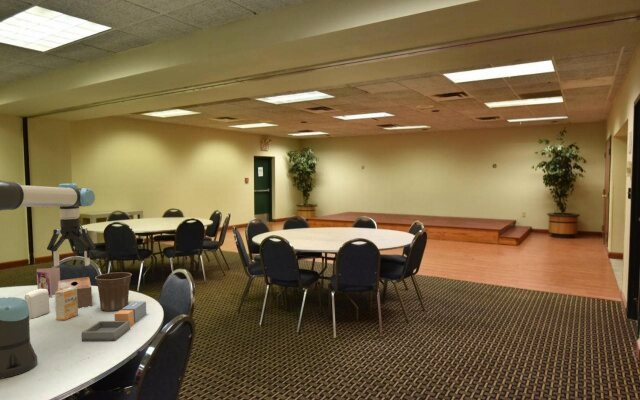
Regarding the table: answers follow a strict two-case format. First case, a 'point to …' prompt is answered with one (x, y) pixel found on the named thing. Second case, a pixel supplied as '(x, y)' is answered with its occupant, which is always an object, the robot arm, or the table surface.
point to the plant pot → (113, 290)
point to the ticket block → (137, 309)
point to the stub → (125, 316)
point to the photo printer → (37, 302)
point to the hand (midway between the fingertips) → (72, 265)
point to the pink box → (48, 279)
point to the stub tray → (106, 331)
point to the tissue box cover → (79, 290)
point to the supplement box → (66, 303)
